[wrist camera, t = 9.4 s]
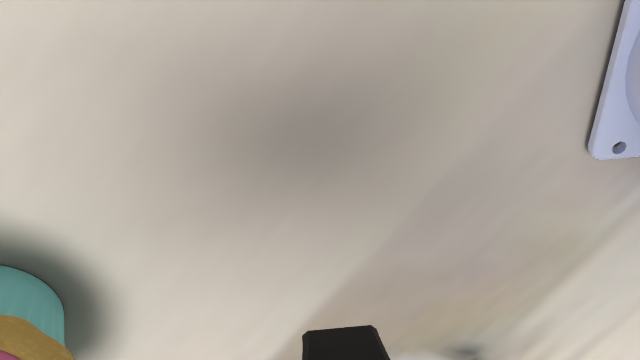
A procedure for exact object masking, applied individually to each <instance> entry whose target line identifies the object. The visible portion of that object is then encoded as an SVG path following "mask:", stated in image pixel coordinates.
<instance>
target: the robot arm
mask: <svg viewBox="0 0 640 360" xmlns="http://www.w3.org/2000/svg"><path fill="white" fill-rule="evenodd" d="M618 142H620V144H619V145H618V146H617V147H616V148H613V146H614V145H615V144H616V143H618ZM612 148H613V149H612ZM588 151H589V153H590V154H591V155H592V156H593V157H594V158H595V159H597V160H609V159H619V158H630V157H640V0H625V3H624V7H623V10H622V14H621V18H620V22H619V26H618V30H617V34H616V38H615V42H614V46H613V50H612V54H611V58H610V61H609V65H608V69H607V73H606V77H605V81H604V85H603V89H602V93H601V97H600V101H599V105H598V108H597V112H596V116H595V120H594V124H593V128H592V132H591V136H590V140H589V144H588ZM302 340H303V355H302V360H390V358H389V356H388V354H387V352H386V350H385V348H384V346H383V344H382V341H381V339H380V337H379V335H378V332H377V329H376V328H374V327H373V326H371V325H367V326H356V327H345V328H335V329H324V330H313V331H307V332H306V333H305V334H304V335H303V336H302Z"/></svg>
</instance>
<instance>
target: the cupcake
mask: <svg viewBox="0 0 640 360" xmlns="http://www.w3.org/2000/svg"><path fill="white" fill-rule="evenodd" d="M0 360H75V359H74V358H73V356H72V354H71V353H70V352H69V351H68V350H67V349H66V348H65V342H64V310H63V306H62V304H61V301H60V299H59V298H58V296H57V295H56V293H55V292H54V291H53V290H52V289H51V288H50V287H49V286H48V285H47V284H45V283H44V282H43V281H41V280H40V279H38V278H36V277H34V276H33V275H31V274H28V273H26V272H24V271H21V270H18V269H15V268H11V267H6V266H0Z"/></svg>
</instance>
